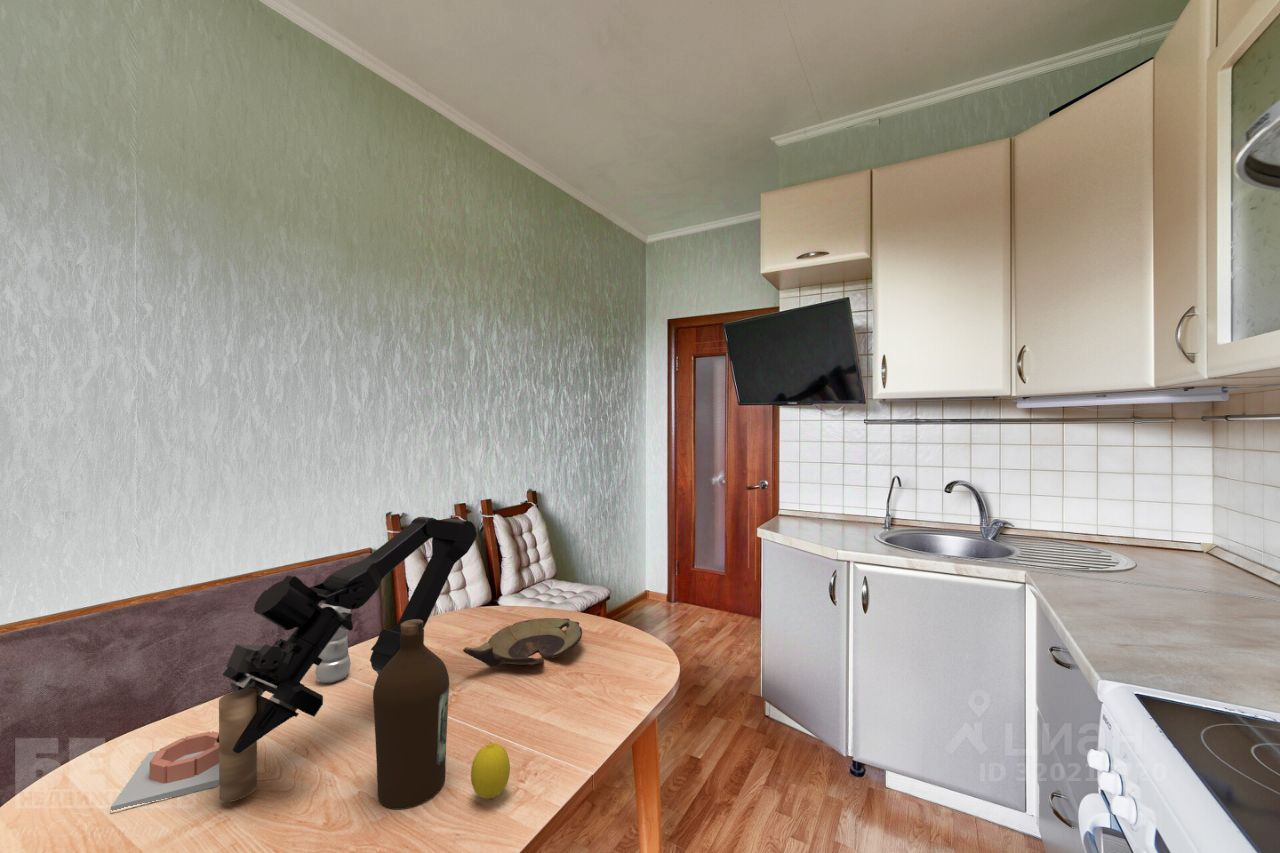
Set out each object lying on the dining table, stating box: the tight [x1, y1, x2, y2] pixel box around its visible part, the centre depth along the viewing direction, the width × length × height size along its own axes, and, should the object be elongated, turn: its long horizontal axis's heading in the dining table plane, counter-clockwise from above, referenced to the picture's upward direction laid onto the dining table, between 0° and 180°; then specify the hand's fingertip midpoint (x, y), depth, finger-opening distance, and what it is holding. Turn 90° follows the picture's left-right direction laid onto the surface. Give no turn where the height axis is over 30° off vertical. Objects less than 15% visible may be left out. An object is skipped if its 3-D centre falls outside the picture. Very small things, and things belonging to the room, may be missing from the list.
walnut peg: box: [218, 688, 258, 803], centre depth 75 cm, size 4×4×14 cm
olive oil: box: [372, 619, 450, 810], centre depth 78 cm, size 11×11×25 cm
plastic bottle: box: [315, 603, 352, 684], centre depth 112 cm, size 6×7×20 cm
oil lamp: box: [462, 617, 583, 668], centre depth 123 cm, size 22×30×8 cm
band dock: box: [110, 730, 219, 811], centre depth 82 cm, size 14×14×4 cm
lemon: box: [470, 742, 511, 800], centre depth 75 cm, size 6×6×8 cm
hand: (227, 747), depth 74 cm, fingers closed on walnut peg, 4 cm apart
